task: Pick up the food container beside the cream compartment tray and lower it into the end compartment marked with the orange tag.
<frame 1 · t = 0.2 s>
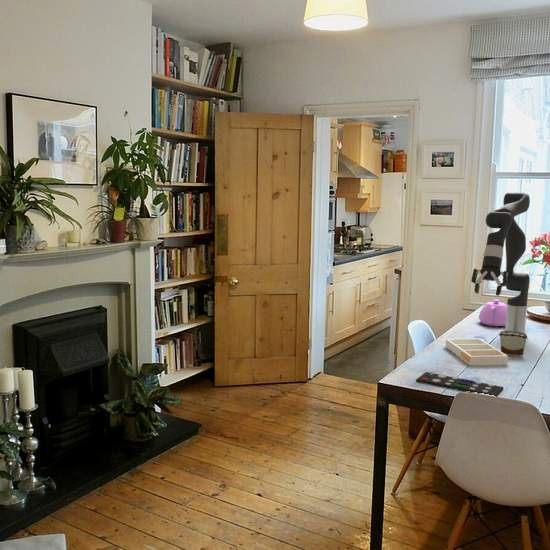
hand: (486, 294, 253), 31 cm above the table, tool tilted 20°, fingers open, 8 cm apart
remote control: (458, 387, 232), on the table
food container: (512, 353, 276), on the table
cream compartment tray: (474, 355, 271), on the table
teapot: (499, 325, 331), on the table
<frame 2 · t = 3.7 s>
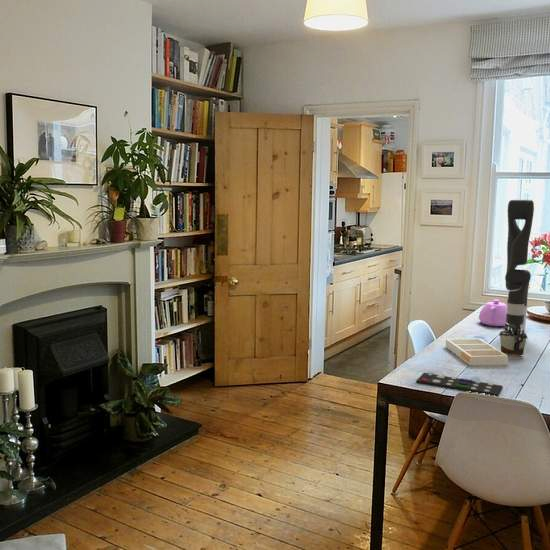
hand: (512, 348, 275), 2 cm above the table, tool pointing down, fingers closed on food container, 6 cm apart
food container: (512, 353, 276), on the table, touching gripper
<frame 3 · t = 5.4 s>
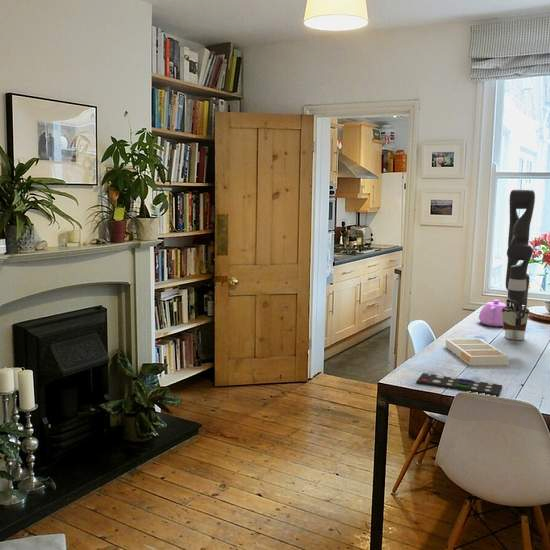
hand: (514, 324, 274), 14 cm above the table, tool pointing down, fingers closed on food container, 6 cm apart
food container: (514, 329, 275), point 11 cm above the table, touching gripper
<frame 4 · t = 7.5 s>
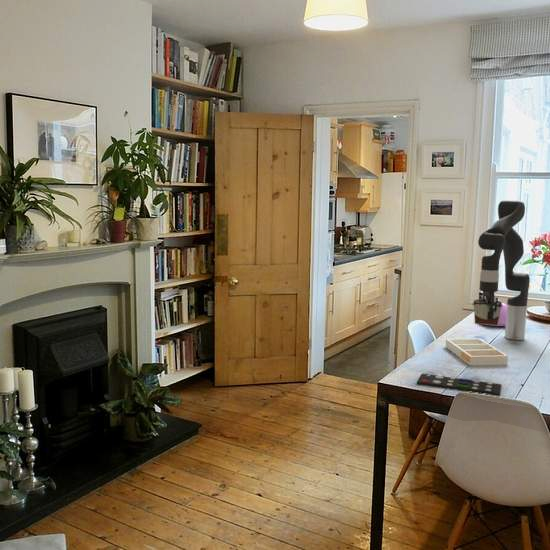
hand: (486, 318, 259), 20 cm above the table, tool pointing down, fingers closed on food container, 6 cm apart
food container: (486, 323, 260), point 17 cm above the table, touching gripper
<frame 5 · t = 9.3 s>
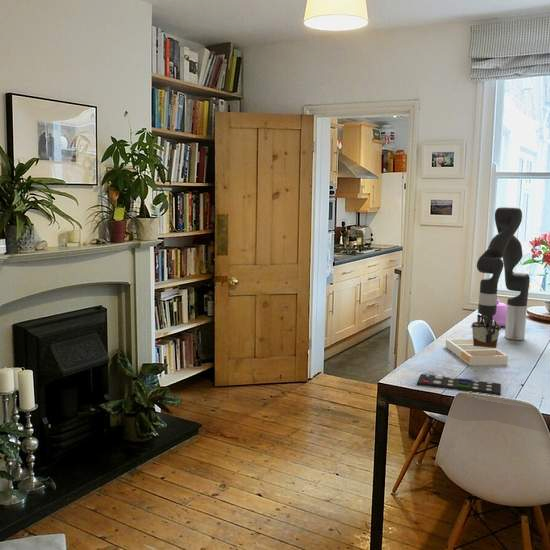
hand: (485, 340, 261), 9 cm above the table, tool pointing down, fingers closed on food container, 6 cm apart
food container: (484, 345, 262), point 7 cm above the table, touching gripper
when the fingers open (4 cm above the table, at t = 10.9 s): food container moves 1 cm, resting on cream compartment tray.
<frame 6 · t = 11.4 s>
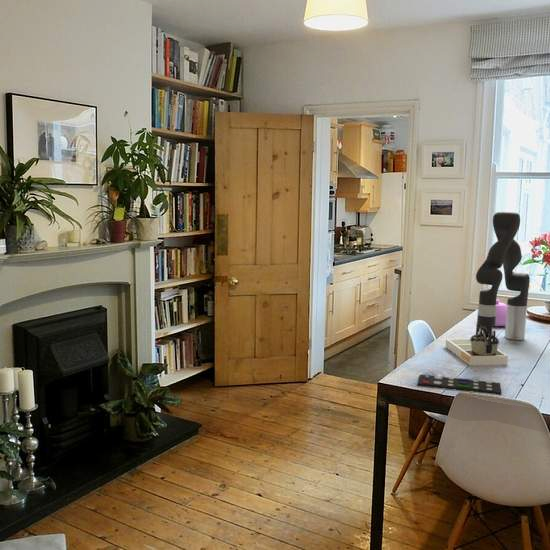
hand: (484, 350, 262), 5 cm above the table, tool pointing down, fingers open, 8 cm apart
food container: (483, 358, 264), point 1 cm above the table, touching cream compartment tray
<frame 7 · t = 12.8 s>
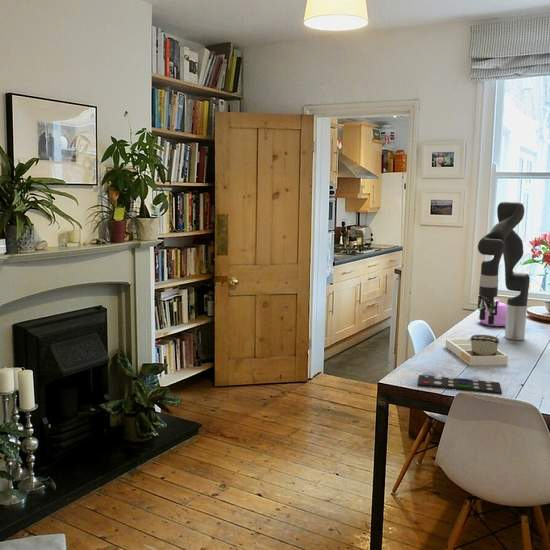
hand: (486, 321, 260), 18 cm above the table, tool pointing down, fingers open, 8 cm apart
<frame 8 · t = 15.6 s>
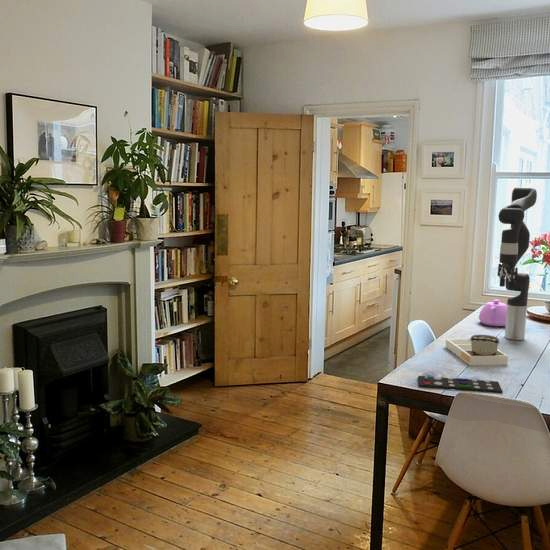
hand: (506, 288, 273), 30 cm above the table, tool pointing down, fingers open, 8 cm apart
at the end: food container 1.7 cm from the target spot on the cream compartment tray, point 0.8 cm above the cream compartment tray's base; food container tilted 0°; the gripper is holding nothing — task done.
